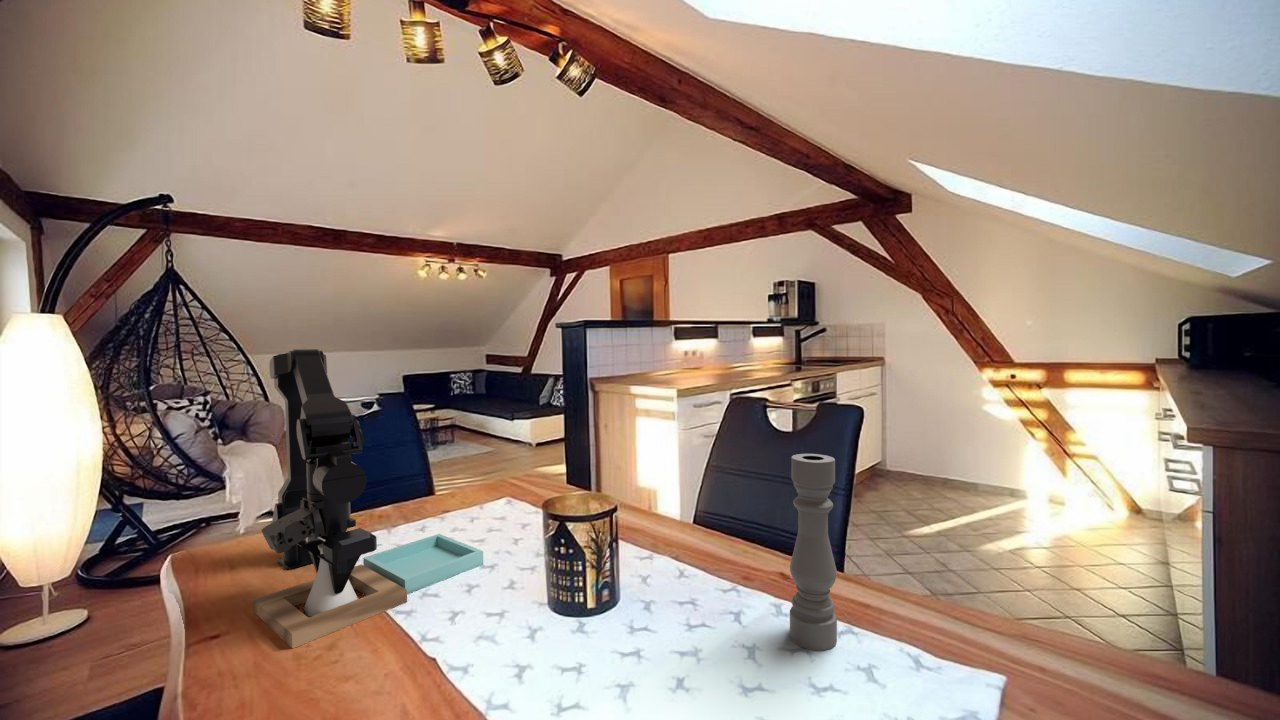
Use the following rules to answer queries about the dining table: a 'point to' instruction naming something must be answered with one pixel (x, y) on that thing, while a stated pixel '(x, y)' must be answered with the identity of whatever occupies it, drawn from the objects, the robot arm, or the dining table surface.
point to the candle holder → (813, 554)
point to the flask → (326, 591)
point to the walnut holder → (302, 629)
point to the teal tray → (424, 561)
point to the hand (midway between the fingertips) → (331, 588)
